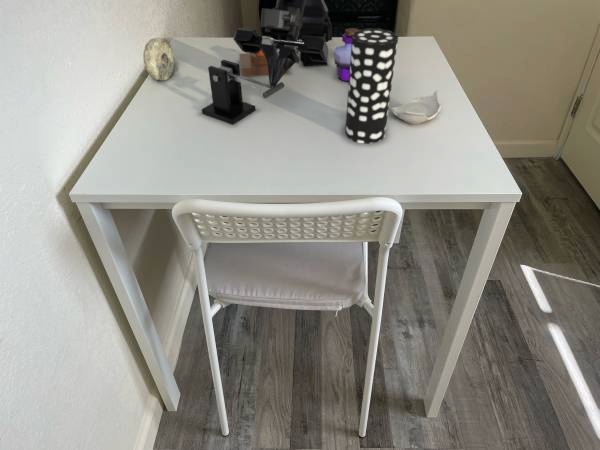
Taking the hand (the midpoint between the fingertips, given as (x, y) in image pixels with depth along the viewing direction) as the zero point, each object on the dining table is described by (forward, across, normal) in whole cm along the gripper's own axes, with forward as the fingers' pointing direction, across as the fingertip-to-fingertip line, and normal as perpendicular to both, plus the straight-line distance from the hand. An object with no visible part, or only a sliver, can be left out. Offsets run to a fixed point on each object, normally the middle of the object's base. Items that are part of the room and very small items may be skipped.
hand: (272, 85), depth 92 cm
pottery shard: (-2, +28, +16) cm, 32 cm away
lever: (0, -6, +3) cm, 7 cm away
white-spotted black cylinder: (+4, +19, +10) cm, 22 cm away
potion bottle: (-14, +9, +28) cm, 33 cm away
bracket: (+4, -12, +9) cm, 16 cm away
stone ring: (-4, -36, +17) cm, 40 cm away
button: (-17, -14, +25) cm, 33 cm away
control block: (-14, -14, +28) cm, 34 cm away
